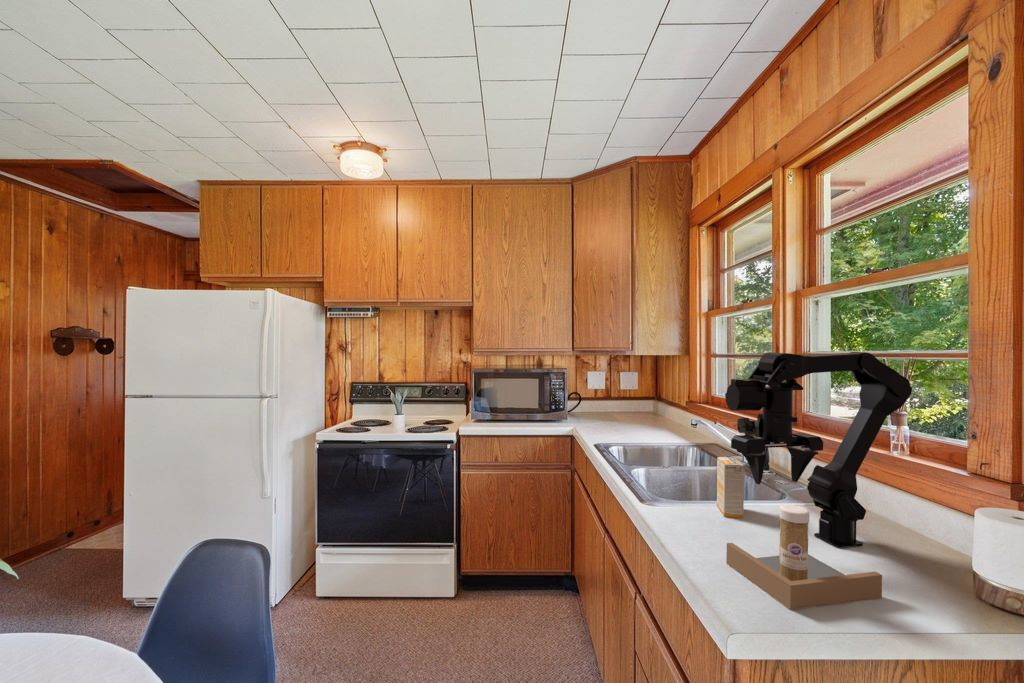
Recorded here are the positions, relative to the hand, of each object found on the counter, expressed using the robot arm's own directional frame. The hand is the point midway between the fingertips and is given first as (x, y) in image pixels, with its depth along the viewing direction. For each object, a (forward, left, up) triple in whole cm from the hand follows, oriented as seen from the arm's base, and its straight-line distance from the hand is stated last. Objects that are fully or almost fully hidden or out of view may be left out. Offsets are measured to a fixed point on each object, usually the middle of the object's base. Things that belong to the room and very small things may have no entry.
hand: (776, 482), depth 104 cm
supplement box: (-2, -18, -13) cm, 22 cm away
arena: (+7, +14, -13) cm, 20 cm away
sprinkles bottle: (+11, +17, -12) cm, 24 cm away
